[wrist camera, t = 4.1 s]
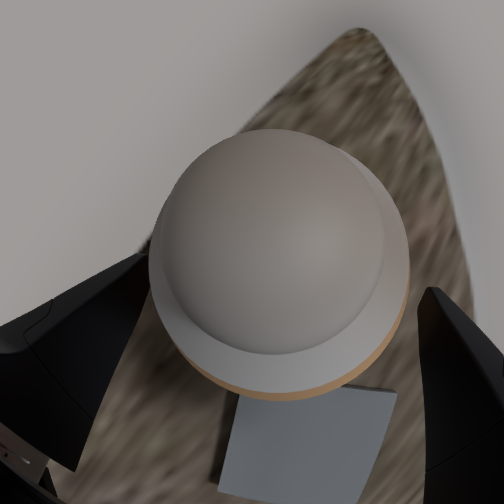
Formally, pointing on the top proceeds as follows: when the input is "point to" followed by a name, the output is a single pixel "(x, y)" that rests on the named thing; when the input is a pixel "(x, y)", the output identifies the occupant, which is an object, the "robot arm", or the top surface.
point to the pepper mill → (279, 265)
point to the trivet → (306, 446)
